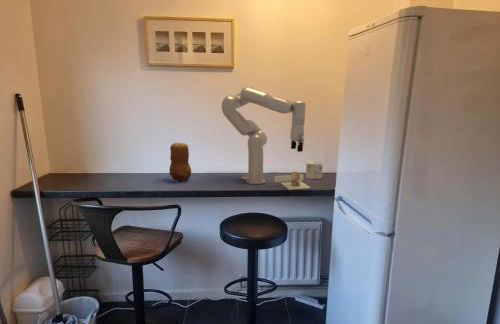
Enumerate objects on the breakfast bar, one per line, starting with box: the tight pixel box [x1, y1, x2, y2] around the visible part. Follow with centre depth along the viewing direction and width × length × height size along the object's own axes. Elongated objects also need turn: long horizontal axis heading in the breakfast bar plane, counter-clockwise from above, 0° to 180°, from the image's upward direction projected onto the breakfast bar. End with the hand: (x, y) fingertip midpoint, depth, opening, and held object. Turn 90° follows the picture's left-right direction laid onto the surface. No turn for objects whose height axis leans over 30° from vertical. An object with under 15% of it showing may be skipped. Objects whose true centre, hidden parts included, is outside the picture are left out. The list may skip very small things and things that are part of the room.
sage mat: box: [280, 181, 311, 191], centre depth 194 cm, size 14×14×1 cm
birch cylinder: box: [290, 171, 302, 186], centre depth 193 cm, size 6×6×8 cm
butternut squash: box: [168, 142, 192, 182], centre depth 200 cm, size 14×13×25 cm
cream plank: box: [274, 174, 304, 183], centre depth 204 cm, size 20×1×4 cm, turn 105°
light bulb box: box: [305, 161, 323, 180], centre depth 212 cm, size 11×7×11 cm, turn 84°
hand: (296, 150), depth 189 cm, fingers open, 9 cm apart
